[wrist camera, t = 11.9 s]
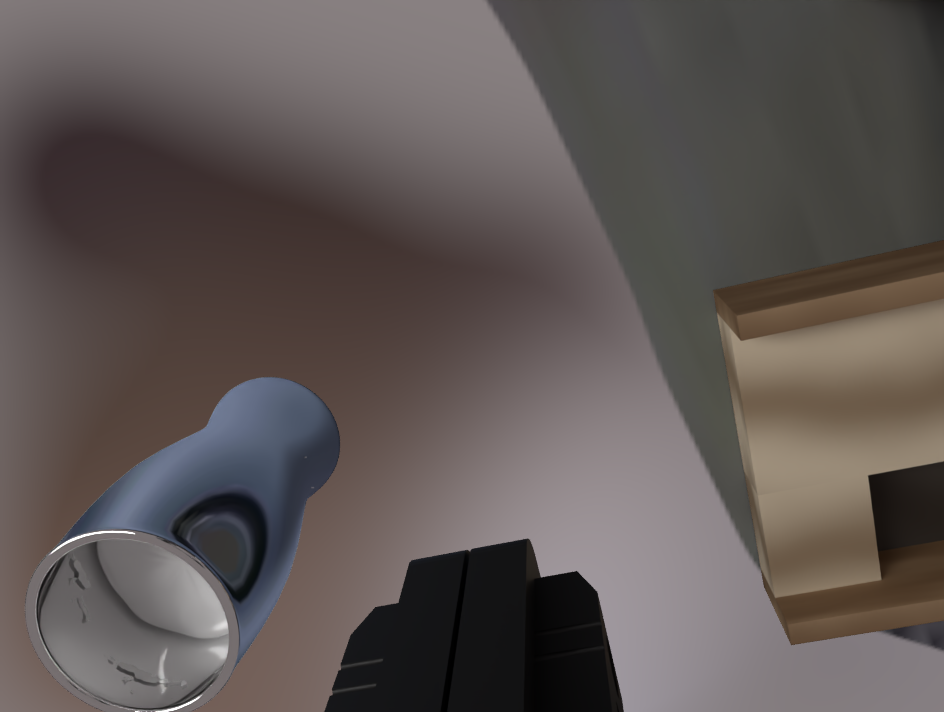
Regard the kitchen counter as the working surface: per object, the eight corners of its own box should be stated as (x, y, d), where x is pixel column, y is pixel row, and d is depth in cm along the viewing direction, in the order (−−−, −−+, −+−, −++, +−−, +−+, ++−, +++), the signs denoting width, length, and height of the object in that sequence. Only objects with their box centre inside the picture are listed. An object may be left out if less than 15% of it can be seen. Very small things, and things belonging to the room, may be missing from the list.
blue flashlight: (250, 528, 41) (98, 756, 27) (174, 404, 40) (-30, 576, 25) (377, 472, 40) (288, 681, 26) (304, 342, 38) (166, 486, 24)
